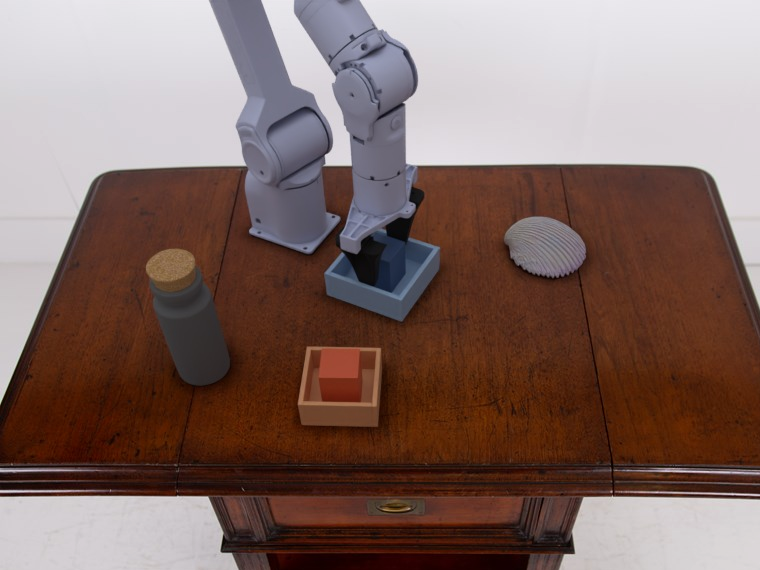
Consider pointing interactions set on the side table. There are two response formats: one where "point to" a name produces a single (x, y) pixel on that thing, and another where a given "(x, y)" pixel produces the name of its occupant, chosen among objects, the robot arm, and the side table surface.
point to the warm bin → (341, 412)
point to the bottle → (187, 317)
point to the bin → (394, 305)
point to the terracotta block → (340, 375)
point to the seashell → (545, 246)
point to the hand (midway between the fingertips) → (382, 263)
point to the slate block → (390, 263)
